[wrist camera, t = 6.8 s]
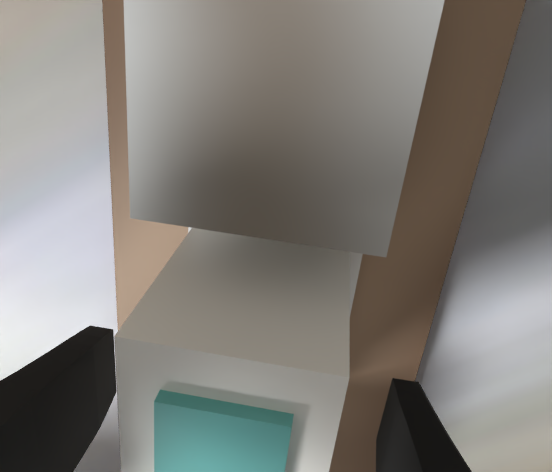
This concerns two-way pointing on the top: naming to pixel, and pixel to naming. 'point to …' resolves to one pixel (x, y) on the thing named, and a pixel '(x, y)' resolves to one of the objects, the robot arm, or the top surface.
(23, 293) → the top surface
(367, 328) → the board
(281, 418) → the block
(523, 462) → the top surface
